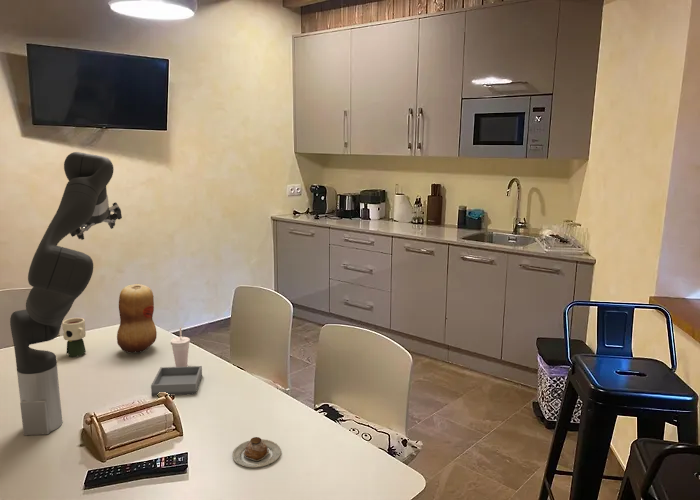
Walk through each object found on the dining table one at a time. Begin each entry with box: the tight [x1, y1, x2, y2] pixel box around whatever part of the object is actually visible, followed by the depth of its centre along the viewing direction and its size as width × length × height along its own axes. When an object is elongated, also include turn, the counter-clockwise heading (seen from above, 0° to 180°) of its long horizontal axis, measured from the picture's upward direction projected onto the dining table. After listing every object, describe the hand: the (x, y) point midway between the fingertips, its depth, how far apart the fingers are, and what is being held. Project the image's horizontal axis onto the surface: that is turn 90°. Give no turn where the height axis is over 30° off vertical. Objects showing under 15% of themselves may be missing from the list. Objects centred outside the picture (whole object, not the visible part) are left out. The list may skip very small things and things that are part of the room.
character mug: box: [61, 317, 87, 358], centre depth 192 cm, size 11×7×13 cm, turn 56°
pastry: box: [231, 436, 282, 469], centre depth 134 cm, size 12×12×5 cm
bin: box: [150, 365, 203, 397], centre depth 171 cm, size 13×13×4 cm
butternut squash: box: [116, 283, 158, 354], centre depth 195 cm, size 14×13×25 cm
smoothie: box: [170, 326, 191, 367], centre depth 184 cm, size 6×6×14 cm
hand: (96, 231), depth 157 cm, fingers open, 8 cm apart
